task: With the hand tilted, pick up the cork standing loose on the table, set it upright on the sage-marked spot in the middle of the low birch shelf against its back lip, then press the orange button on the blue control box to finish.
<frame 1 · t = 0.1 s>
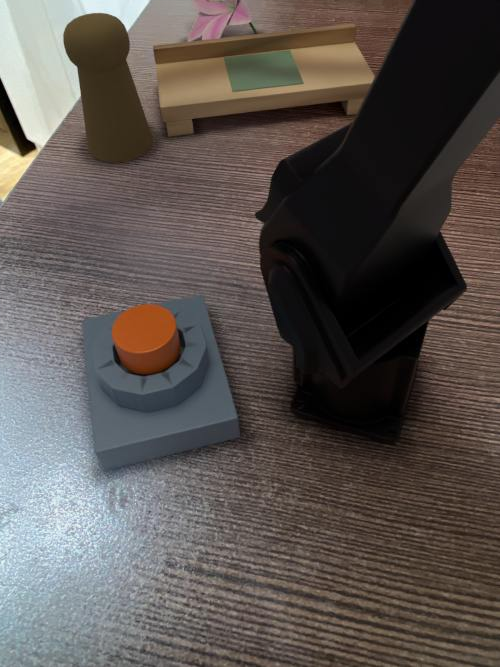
lily: (224, 45, 68), on the table
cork: (121, 145, 56), on the table
control box: (159, 386, 38), on the table
bell button: (147, 339, 34), point 5 cm above the table, slide at 0.1 cm
shelf: (263, 100, 59), on the table
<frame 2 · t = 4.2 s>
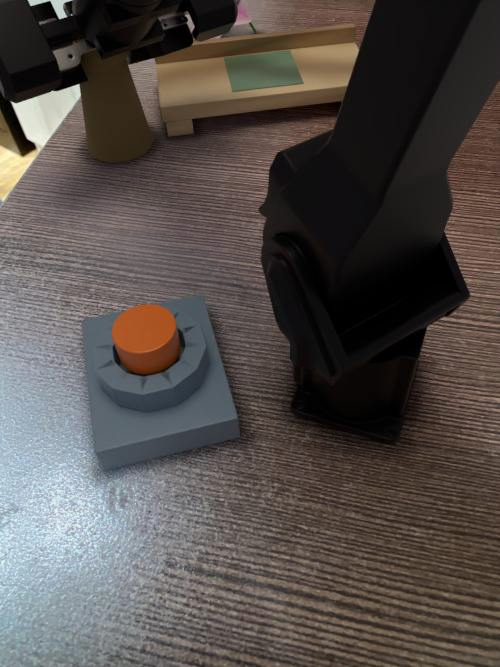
hand: (97, 68, 51), 7 cm above the table, tool tilted 45°, fingers closed on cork, 5 cm apart
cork: (120, 145, 56), on the table, touching gripper
everything else where it was.
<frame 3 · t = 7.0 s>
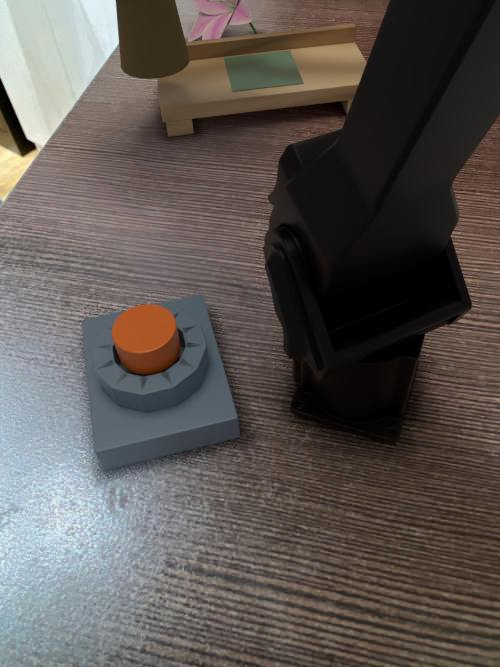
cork: (155, 64, 52), point 6 cm above the table, touching gripper
everything else where it was.
when the fingers open (10 cm above the table, at t = 10.0 s): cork stays where it is, resting on shelf.
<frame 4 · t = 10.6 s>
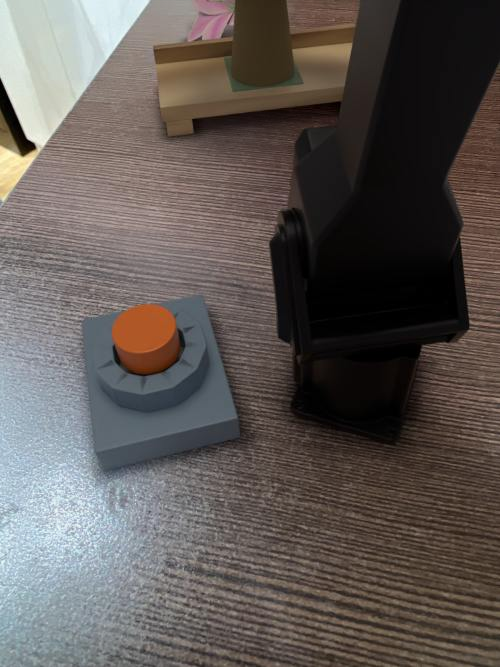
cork: (262, 72, 57), point 3 cm above the table, touching shelf
everything else where it was.
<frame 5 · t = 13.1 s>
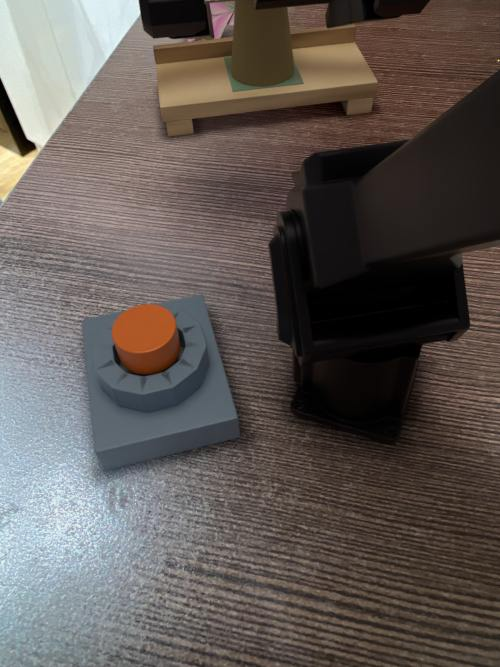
hand: (269, 27, 46), 11 cm above the table, tool tilted 45°, fingers open, 9 cm apart
nothing on the table moved.
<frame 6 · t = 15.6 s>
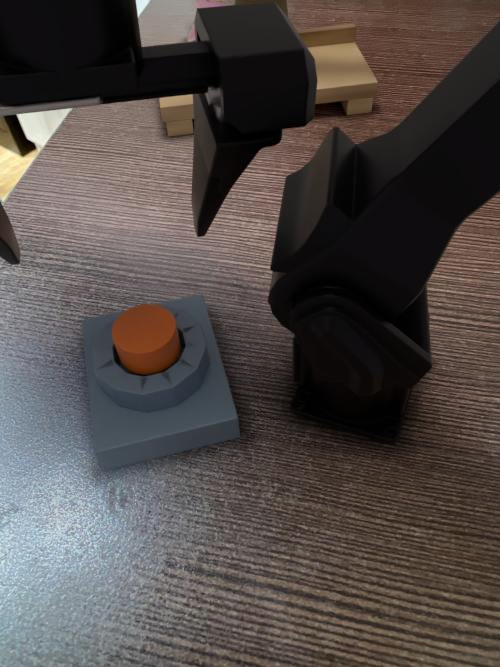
hand: (110, 244, 31), 11 cm above the table, tool pointing down, fingers open, 9 cm apart
nothing on the table moved.
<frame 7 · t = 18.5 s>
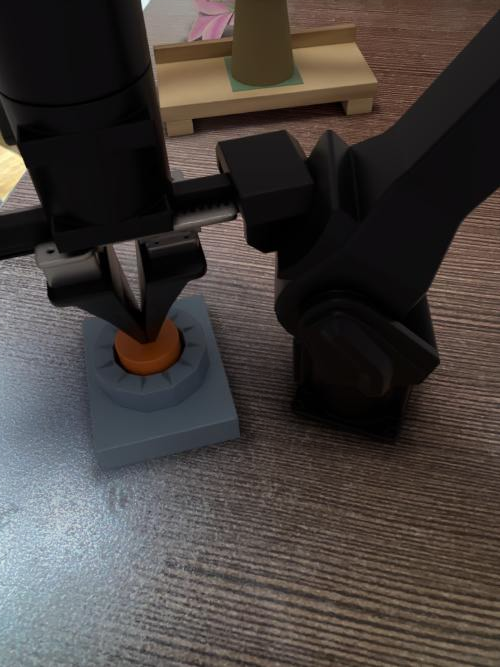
hand: (147, 337, 34), 5 cm above the table, tool pointing down, fingers closed, pressing on bell button
bell button: (149, 348, 35), point 4 cm above the table, slide at -0.7 cm, touching gripper
everything else where it was.
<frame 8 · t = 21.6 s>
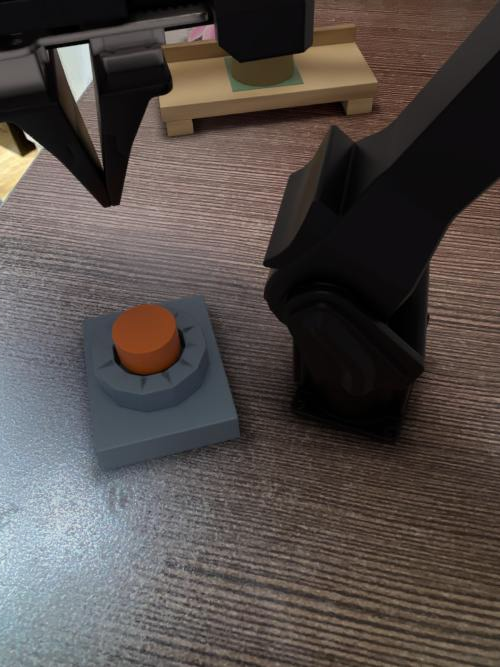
hand: (111, 201, 30), 12 cm above the table, tool pointing down, fingers closed
bell button: (147, 339, 34), point 5 cm above the table, slide at 0.1 cm
everything else where it was.
at the end: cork 0.2 cm off-centre on the shelf, point 2.9 cm above the shelf's base; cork tilted 0°; bell button pushed in 1.2 cm at the most during the clip, back to where it started at the end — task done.
